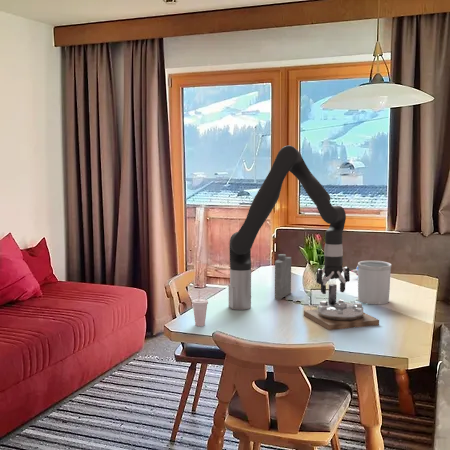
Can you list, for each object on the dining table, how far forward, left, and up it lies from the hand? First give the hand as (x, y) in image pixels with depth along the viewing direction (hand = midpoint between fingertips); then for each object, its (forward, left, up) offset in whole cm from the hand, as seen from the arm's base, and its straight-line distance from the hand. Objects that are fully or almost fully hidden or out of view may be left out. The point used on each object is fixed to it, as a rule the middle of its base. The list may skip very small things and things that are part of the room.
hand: (332, 292), depth 240 cm
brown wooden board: (0, -7, -10) cm, 12 cm away
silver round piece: (0, -7, -7) cm, 10 cm away
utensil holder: (+30, +16, -10) cm, 35 cm away
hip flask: (-6, +38, -10) cm, 40 cm away
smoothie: (-56, +4, -10) cm, 57 cm away
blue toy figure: (+51, +61, -10) cm, 80 cm away
